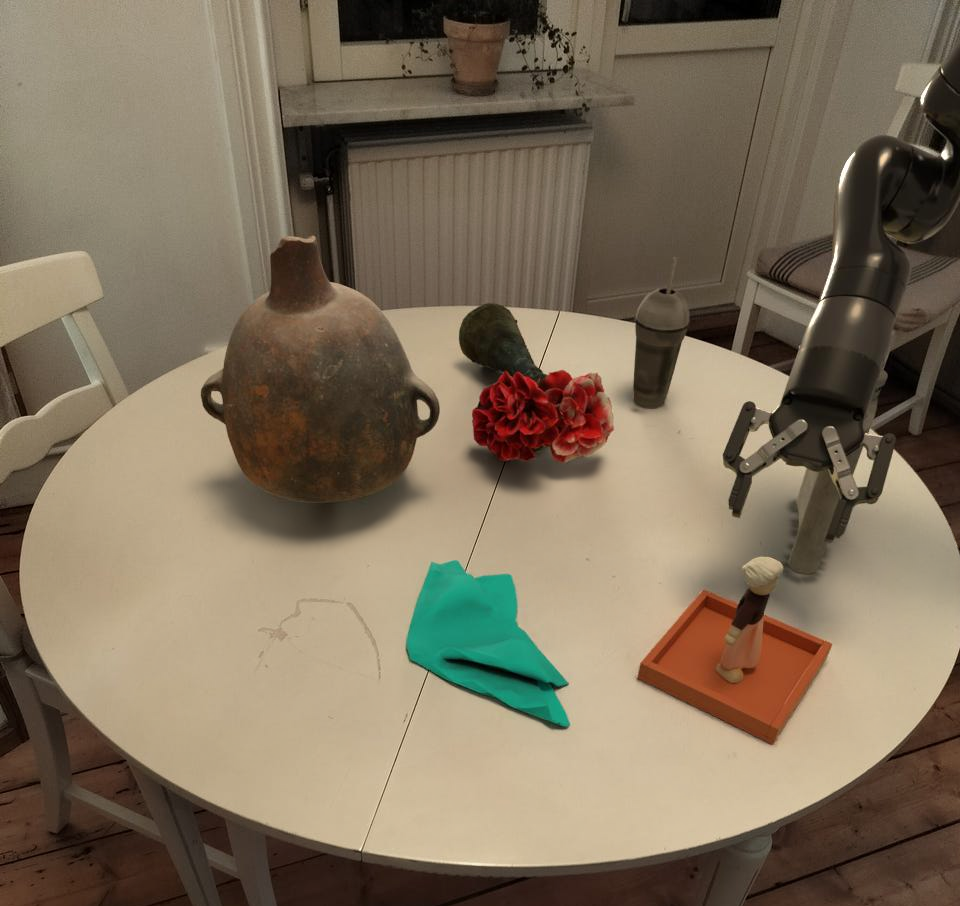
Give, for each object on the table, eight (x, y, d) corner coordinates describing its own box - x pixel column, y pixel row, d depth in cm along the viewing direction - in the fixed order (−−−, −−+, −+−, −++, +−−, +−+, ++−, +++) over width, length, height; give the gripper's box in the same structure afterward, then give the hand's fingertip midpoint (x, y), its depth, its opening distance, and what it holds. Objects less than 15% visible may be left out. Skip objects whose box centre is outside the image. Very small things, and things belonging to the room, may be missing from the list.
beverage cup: (668, 388, 125) (694, 244, 111) (680, 412, 119) (708, 265, 106) (618, 388, 124) (638, 244, 111) (628, 413, 119) (650, 265, 105)
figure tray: (826, 659, 84) (832, 643, 83) (772, 744, 76) (778, 729, 75) (699, 603, 90) (703, 588, 88) (636, 678, 82) (640, 662, 80)
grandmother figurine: (747, 696, 79) (783, 590, 71) (706, 683, 81) (736, 577, 72) (764, 644, 85) (799, 540, 76) (725, 633, 86) (755, 529, 77)
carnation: (478, 411, 134) (577, 525, 109) (386, 348, 123) (474, 459, 98) (541, 326, 129) (660, 425, 104) (452, 252, 118) (562, 343, 93)
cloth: (382, 573, 93) (380, 556, 91) (503, 553, 96) (504, 536, 94) (440, 755, 74) (439, 738, 73) (588, 724, 77) (591, 707, 76)
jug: (397, 429, 115) (384, 184, 94) (456, 516, 101) (456, 249, 80) (212, 464, 108) (155, 208, 87) (247, 563, 93) (188, 284, 73)
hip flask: (797, 494, 105) (848, 335, 91) (831, 500, 104) (888, 341, 91) (786, 570, 94) (843, 403, 80) (825, 578, 93) (888, 410, 79)
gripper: (762, 328, 78) (704, 498, 78) (929, 361, 73) (866, 541, 74) (761, 361, 85) (707, 516, 85) (913, 392, 80) (856, 557, 81)
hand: (781, 528), depth 79 cm, fingers open, 8 cm apart
